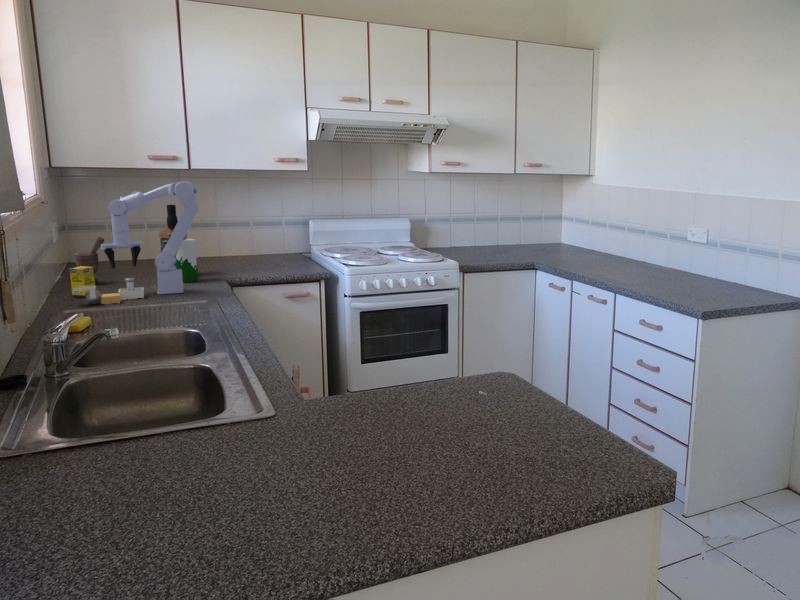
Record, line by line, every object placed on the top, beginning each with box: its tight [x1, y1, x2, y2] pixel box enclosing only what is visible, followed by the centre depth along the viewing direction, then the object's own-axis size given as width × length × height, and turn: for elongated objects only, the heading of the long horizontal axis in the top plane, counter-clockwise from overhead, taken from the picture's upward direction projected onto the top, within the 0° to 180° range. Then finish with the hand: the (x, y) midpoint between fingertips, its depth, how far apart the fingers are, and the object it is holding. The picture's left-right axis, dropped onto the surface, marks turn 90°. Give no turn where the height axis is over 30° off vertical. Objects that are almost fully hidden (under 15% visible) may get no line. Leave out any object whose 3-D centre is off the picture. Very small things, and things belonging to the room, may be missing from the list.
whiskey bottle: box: [158, 204, 189, 266], centre depth 272 cm, size 10×10×32 cm
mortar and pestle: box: [74, 236, 105, 285], centre depth 255 cm, size 12×9×20 cm
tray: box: [117, 286, 145, 301], centre depth 229 cm, size 8×7×3 cm
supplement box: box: [69, 266, 96, 298], centre depth 232 cm, size 6×6×11 cm
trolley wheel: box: [74, 285, 103, 305], centre depth 217 cm, size 8×5×6 cm, turn 111°
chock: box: [100, 292, 122, 305], centre depth 221 cm, size 6×5×3 cm
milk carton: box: [174, 238, 200, 284], centre depth 261 cm, size 9×9×20 cm
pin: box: [124, 277, 135, 291], centre depth 229 cm, size 3×3×7 cm
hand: (124, 267), depth 235 cm, fingers open, 7 cm apart
